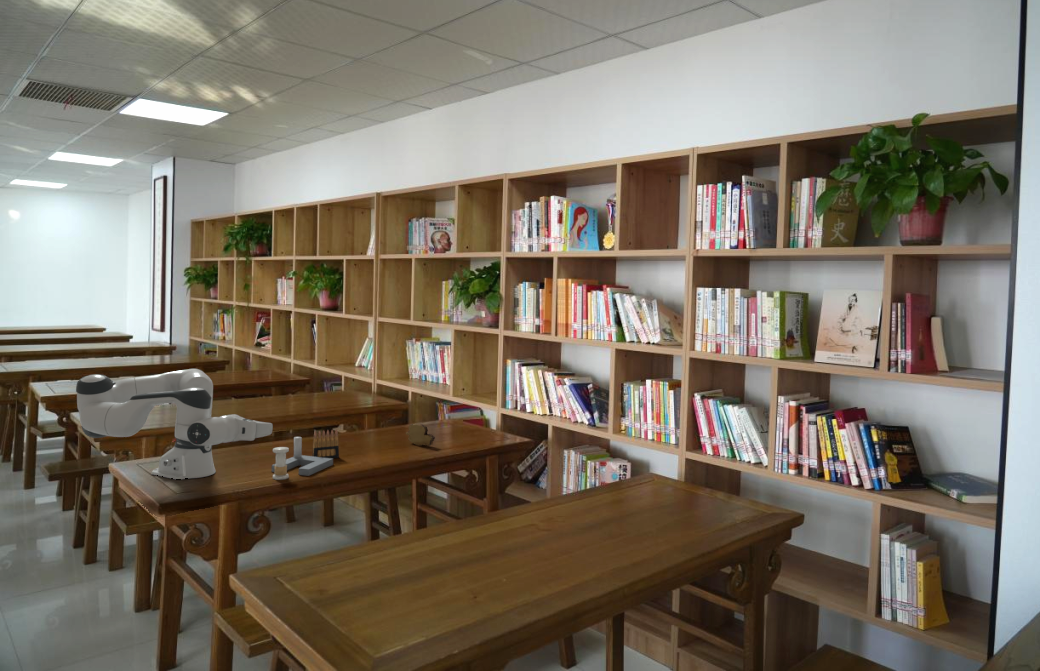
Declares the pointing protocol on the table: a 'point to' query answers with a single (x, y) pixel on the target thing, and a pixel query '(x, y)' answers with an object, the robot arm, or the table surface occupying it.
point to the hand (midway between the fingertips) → (257, 423)
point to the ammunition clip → (326, 445)
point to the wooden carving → (420, 435)
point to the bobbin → (280, 463)
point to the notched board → (305, 460)
